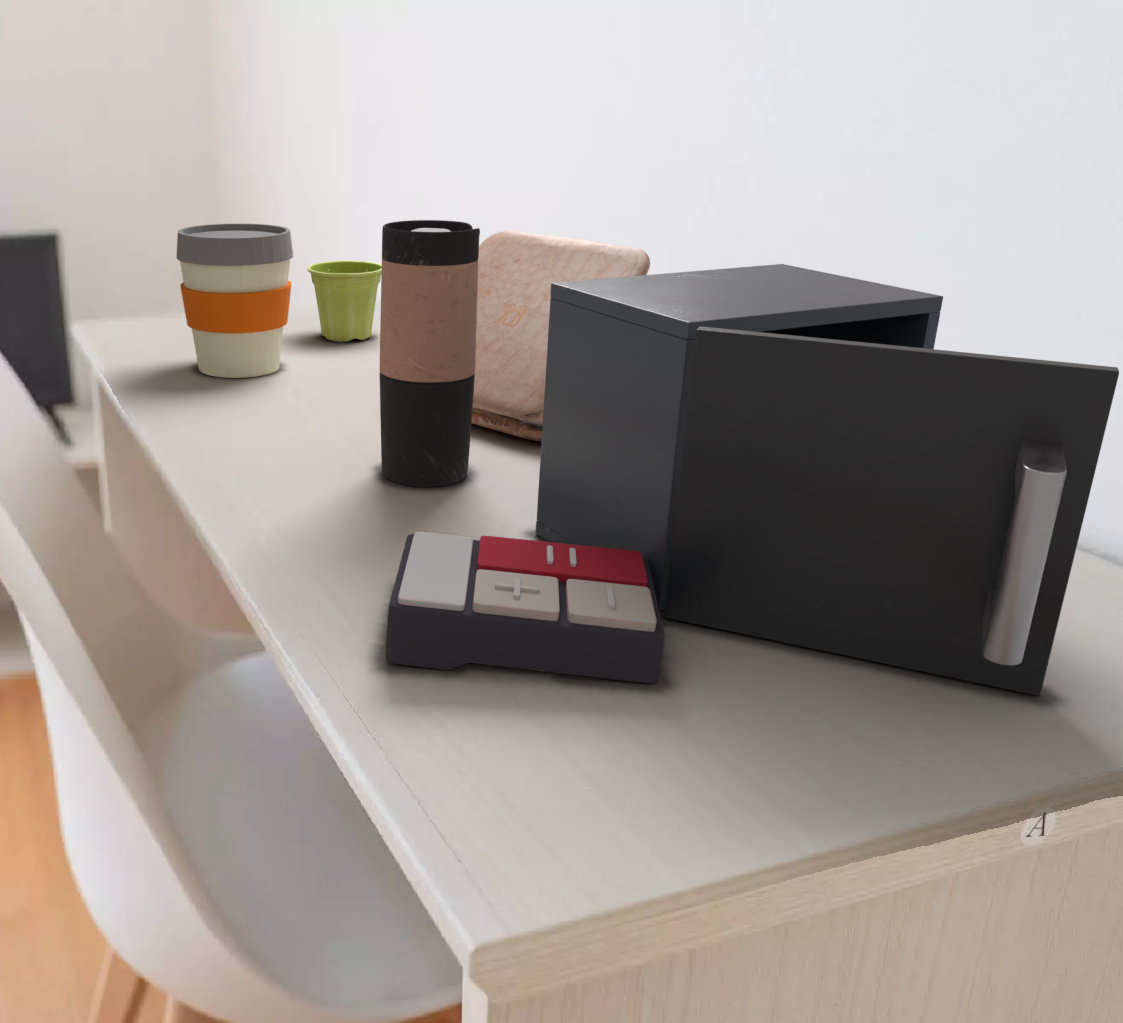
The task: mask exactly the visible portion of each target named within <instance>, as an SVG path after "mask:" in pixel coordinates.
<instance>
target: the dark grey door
mask: <svg viewBox="0 0 1123 1023" xmlns="http://www.w3.org/2000/svg"><path fill="white" fill-rule="evenodd" d="M1119 376H1120V371H1119V368H1118V366H1108V365H1098V364H1097V365H1096V364H1086V363H1078V362H1069V361H1068V362H1066V361H1056V360H1046V359H1037V358H1026V357H1017V356H1016V357H1015V356H1007V355H996V354H986V353H975V352H965V351H956V350H946V349H936V348H934V349H926V348H915V347H905V346H895V345H885V344H875V343H865V342H854V341H844V340H834V339H824V338H814V337H804V336H793V335H783V334H773V333H763V332H753V331H743V330H732V329H722V328H712V327H702V326H700V327H699V328H698V329H696V334H695V343H694V352H693V361H692V371H691V380H690V389H689V398H688V407H687V417H686V426H685V435H684V444H683V453H682V463H681V472H680V481H679V490H678V499H677V508H676V518H675V527H674V536H673V545H672V554H671V564H670V573H669V582H668V591H667V600H666V610H664V618H666V619H671V620H674V621H680V622H684V623H688V624H689V623H690V624H695V625H697V626H698V625H699V626H703V627H709V628H713V629H719V630H723V631H727V632H733V633H736V634H741V635H747V636H752V637H756V638H760V639H766V640H771V641H774V642H775V641H776V642H780V643H785V644H789V645H794V646H798V647H799V646H800V647H803V648H809V649H813V650H817V651H818V650H819V651H823V652H828V653H832V654H838V655H842V656H846V657H852V658H856V659H861V660H867V661H871V662H875V663H879V664H885V665H891V666H896V667H900V668H903V669H904V668H905V669H910V670H914V671H919V672H923V673H928V674H932V675H933V674H934V675H938V676H943V677H947V678H953V679H957V680H962V681H967V682H971V683H976V684H981V685H987V686H991V687H995V688H1001V689H1005V690H1010V691H1015V692H1019V693H1023V694H1029V695H1034V696H1038V697H1040V696H1041V694H1042V690H1043V687H1044V682H1045V678H1046V674H1047V669H1048V665H1049V661H1050V657H1051V654H1052V649H1053V645H1054V641H1055V637H1056V633H1057V628H1058V626H1059V620H1060V618H1061V612H1062V608H1063V605H1064V601H1065V596H1066V592H1067V588H1068V584H1069V580H1070V576H1071V571H1072V567H1073V565H1074V559H1075V555H1076V551H1077V547H1078V543H1079V539H1080V535H1081V530H1082V528H1083V523H1084V519H1085V515H1086V510H1087V506H1088V503H1089V499H1090V495H1091V490H1092V486H1093V482H1094V477H1095V474H1096V470H1097V465H1098V461H1099V457H1100V453H1101V449H1102V446H1103V442H1104V437H1105V434H1106V428H1107V425H1108V421H1109V417H1110V414H1111V413H1110V412H1111V410H1112V409H1111V408H1112V404H1113V400H1114V396H1115V393H1116V388H1117V384H1118V380H1119Z"/></svg>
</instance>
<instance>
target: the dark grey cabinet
mask: <svg viewBox="0 0 1123 1023" xmlns="http://www.w3.org/2000/svg"><path fill="white" fill-rule="evenodd" d="M550 297H551V299H550V313H549V329H548V345H547V361H546V377H545V393H544V409H543V425H542V441H540V442H541V444H540V446H541V447H540V459H539V474H538V490H537V492H538V494H537V506H536V520H535V535H537V536H538V537H540V538H542V539H543V540H545V542H553V543H563V544H573V545H582V546H592V547H602V548H611V549H621V550H631V551H638V552H640V553H641V554H642V557H643V558H645V559H646V560H647V561H648V564H649V568H650V573H651V577H652V581H653V586H654V590H655V594H656V599H657V603H658V607H659V612H662V611H665V610H666V600H667V591H668V582H669V573H670V564H671V554H672V545H673V536H674V527H675V518H676V508H677V499H678V490H679V481H680V472H681V463H682V453H683V444H684V435H685V426H686V417H687V407H688V398H689V389H690V380H691V371H692V361H693V352H694V343H695V334H696V329H698V328H699V327H700V326H702V327H712V328H722V329H732V330H743V331H753V332H763V333H773V334H783V335H793V336H804V337H814V338H824V339H834V340H844V341H854V342H865V343H875V344H885V345H895V346H905V347H915V348H926V349H935V344H936V339H937V334H938V327H939V323H940V318H941V312H942V306H943V301H944V296H943V295H939V294H935V293H934V294H933V293H929V292H924V291H919V290H914V289H910V288H904V287H900V286H899V287H898V286H894V285H889V284H884V283H879V282H875V281H869V280H864V279H859V278H854V277H849V276H844V275H841V274H835V273H831V272H830V273H829V272H824V271H819V270H814V269H810V268H805V267H801V266H800V267H799V266H795V265H790V264H785V263H778V264H767V265H754V266H753V265H752V266H741V267H729V268H728V267H727V268H718V269H717V268H716V269H715V268H714V269H705V270H704V269H703V270H695V271H694V270H692V271H691V270H690V271H681V272H668V273H658V274H657V273H655V274H647V275H642V276H629V277H617V278H605V279H593V280H581V281H569V282H556V283H551V294H550Z"/></svg>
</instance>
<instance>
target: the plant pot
mask: <svg viewBox="0 0 1123 1023" xmlns="http://www.w3.org/2000/svg"><path fill="white" fill-rule="evenodd" d="M307 272H308V273H310V278H311V283H312V284H313V288H314V292H315V298H316V306H317V312H318V317H319V318H318V319H319V324H320V331H321V336H322V337H325V339H326V340H329V341H332V342H333V341H334V342H335V341H336V342H344V343H345V342H350V341H352V340H355V339H356V340H359V341H364V340H366V339H369V338H370V337H372V330H373V323H374V315H375V309H376V301H377V295H378V287H379V284H380V282H381V272H382V263H379V262H378V263H377V262H372V261H363V260H362V261H361V260H335V261H333V260H332V261H323V262H316V263H311V264H310V265H308V266H307Z"/></svg>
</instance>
